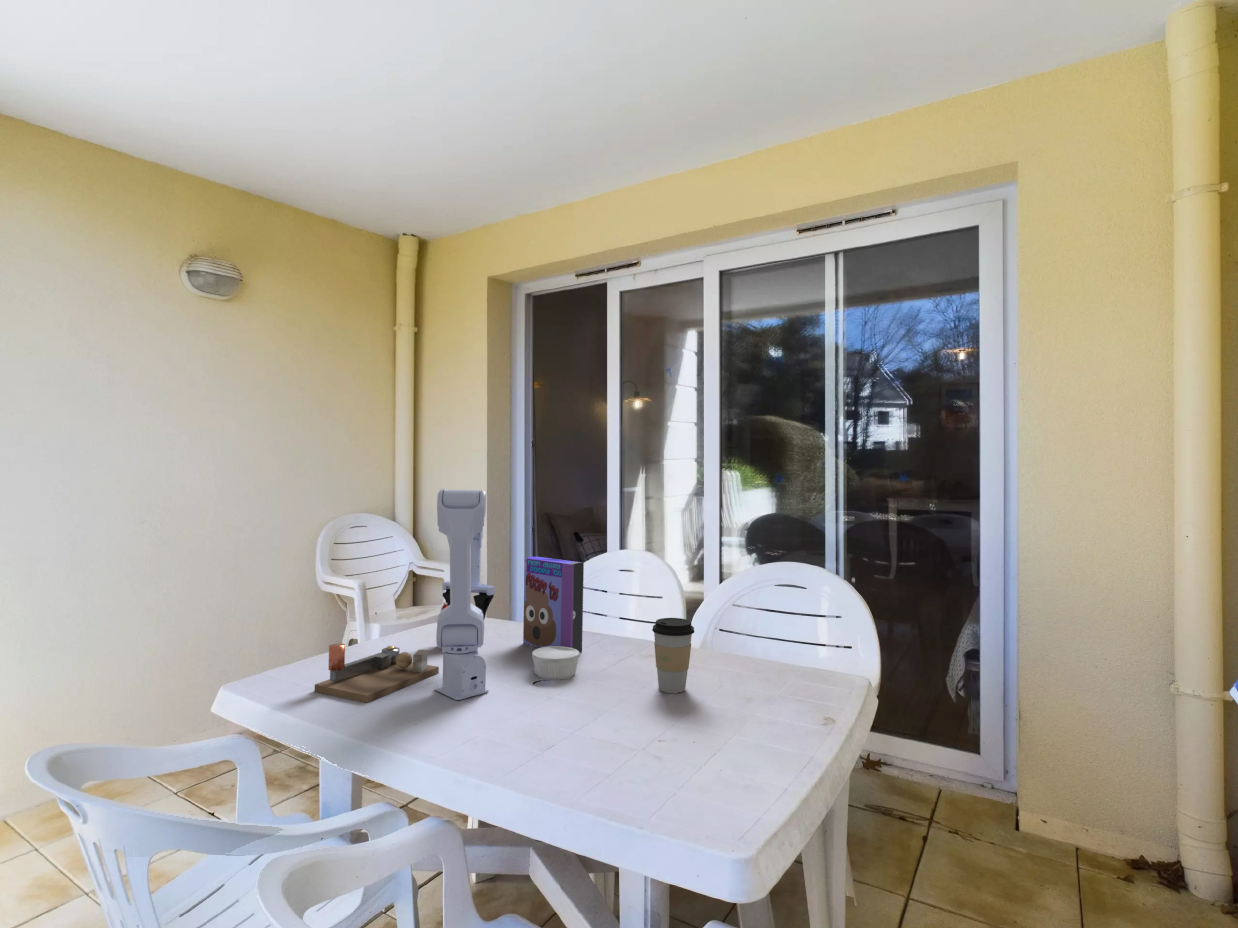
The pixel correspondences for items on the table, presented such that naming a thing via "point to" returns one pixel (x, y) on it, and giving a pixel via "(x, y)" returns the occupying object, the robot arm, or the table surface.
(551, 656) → the ramekin
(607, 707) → the table surface
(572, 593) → the cereal box
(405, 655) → the walnut
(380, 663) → the lever
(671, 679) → the coffee cup
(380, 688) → the board
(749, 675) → the table surface
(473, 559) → the robot arm
